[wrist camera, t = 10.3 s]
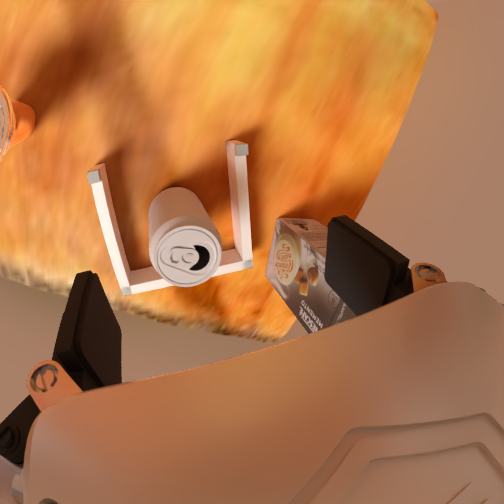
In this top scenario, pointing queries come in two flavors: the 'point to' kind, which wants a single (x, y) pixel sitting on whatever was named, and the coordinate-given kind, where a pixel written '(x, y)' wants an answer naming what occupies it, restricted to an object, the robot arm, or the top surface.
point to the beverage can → (182, 238)
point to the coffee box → (304, 273)
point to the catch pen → (149, 276)
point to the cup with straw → (14, 122)
